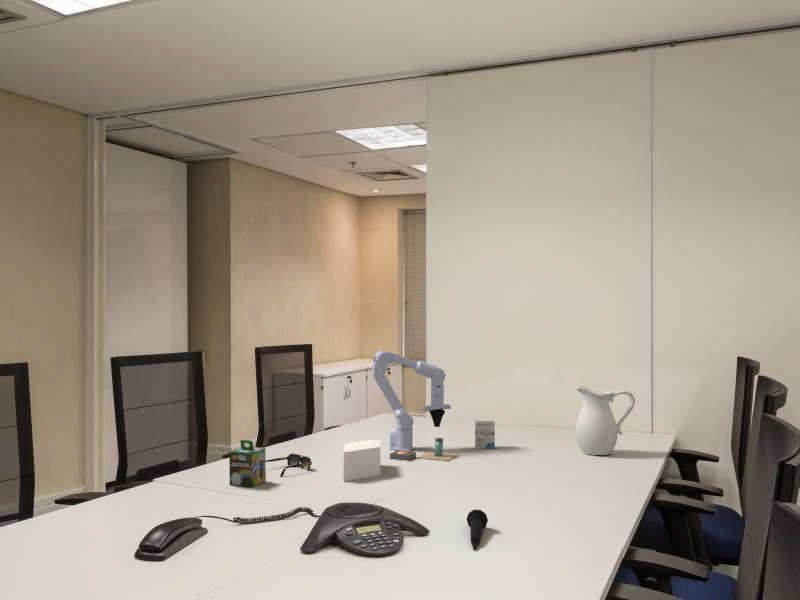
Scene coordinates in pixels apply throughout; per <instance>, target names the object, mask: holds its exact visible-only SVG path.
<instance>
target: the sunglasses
mask: <svg viewBox="0 0 800 600" xmlns="http://www.w3.org/2000/svg"><path fill="white" fill-rule="evenodd" d="M285 460H287V466H285V467H284V468H283V469H282V471H281V473H280V474H279V476H280V478H282V477H284V475H285V471H286V469H290V468H299V467H300V468H301V469H302V470H306V471H310V469H311V466H312V465H313V462H312V459H311V458H310V457H309V456H306V455H303V454H298V453H290V454H289V455H288V456H285V457H284V456H283V457H277V458H271V459H265V462H266V463H269V462H271V463H273V462H277V461H278V462H279V461H285Z"/></svg>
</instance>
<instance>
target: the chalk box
mask: <svg viewBox="0 0 800 600" xmlns="http://www.w3.org/2000/svg"><path fill="white" fill-rule="evenodd" d="M239 443H240V447H238V448H235V449H233V450H230V451H229V457H228V458H229V459H228V461H229V467H228V469H229V485H230V486H239V487H240V486H241V487H246V488H253V487H255V486H257V485H259V484H261V483H264V482H265V481H267V477H266V474H267V472H266V471H267V470H266V463H267V462H265V461H266V447H255V446H254V443H253V440H249V439H240V441H239ZM245 444H248V445H249V446H245Z"/></svg>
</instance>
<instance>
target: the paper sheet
mask: <svg viewBox="0 0 800 600" xmlns="http://www.w3.org/2000/svg"><path fill="white" fill-rule="evenodd" d="M458 455H459V456H460V454H459V453H450V452H449V453H448V452H442V456H435V451H428V452H426V453H424V454H422V455H419V456H417V459H420V458H424V459H423V460H430V459H433V460H432V461H439V460H443V461H442V462H450V461H452V460H453V459H455V458H457V457H458ZM456 456H457V457H456ZM451 459H452V460H451ZM449 460H450V461H449Z"/></svg>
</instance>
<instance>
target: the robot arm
mask: <svg viewBox="0 0 800 600" xmlns="http://www.w3.org/2000/svg"><path fill="white" fill-rule="evenodd" d="M390 364H392V365H393V364H400V365H403V366H405V367H407V368H408V367H409V368H411V369H413V371H414V372H415V374H417V375H419V376H422V377H425V378H427V379H430V381H431V382H430V404H429V405H425V406H423V407H422V410H423V411H422V412H425V413H426V412H429V415H430V416H431V419H432V423H433V427H435V428H440V427H441V423H442V419H443V417H444V415H445V413H446V410H451V407H452V406H451V404H450V403H449V404H448V403H446V404H445V403H444V402H445V399H444V398H445V385H444V383H445V382H444V380H445V379H446V377H447V374H446V373H445V371H444V370H443V368H439V367H438V366H436V365H435V364H433V365H432V364H429V363H428V362H427V361H426V360H419V361H415V360H411V359H410V358H408V357H405V356H402V355H400V354H398V353H395V352H390V351H386V350H378V351H377V352H376V353H375V354H374V356H373V358H372V377H373V379H374V380H375V382H376V384H377V385H378V387H379V389H380V391H381V392H382V394H383V396H384V398H385V399H386V401H387V403H388V404H389V406H390V408H391V410H392V412H393V414H394V416H395V421H396V423H397V424H396V426H395V427H392V428H391V429H390V433H389V448H388V450H394V451H397V450H403V451H412V450H413V451H414V449H417V447H416V446H413V445H414V444H413V438H414V437H413V432H414V431H413V430H414V428H413V425H414V418H413V416H412V415H411V414H409V413H408V412H407V411H406V409H405V407H404V406H403V404H402V402H401V400H400V399H399V398H398V396H397V393H396V392H395V390H394V389H393V387H392V385H391V383H390V381H389V380H388V379H387V377H386V372H387V368H388V367H389V366H390Z"/></svg>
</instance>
